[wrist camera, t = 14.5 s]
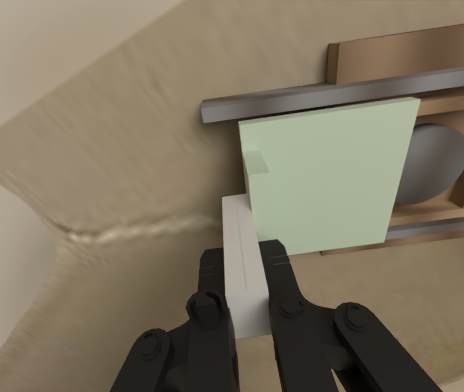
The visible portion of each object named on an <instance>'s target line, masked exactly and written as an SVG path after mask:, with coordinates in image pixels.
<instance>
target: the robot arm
mask: <svg viewBox="0 0 464 392" xmlns="http://www.w3.org/2000/svg"><path fill="white" fill-rule="evenodd" d="M222 212H223V241H224V247H222V248H214V249H207V250H205V251H204V253H203V254H202V256H201V258H200V269H199V282H198V292H196V293H195V294H193V295H192V296H191V298H190V299H189V300H188V302H187V305H186V310H187V312H188V315H189V317H190V319H189V320H188V321H187V322H186V323H185V324H183V325H181V326H179V327H177V328H175V329H173V330H171V331H169V332H167V333H166V331H165V330H162V329H159V328H158V329H151V330H149V331H147V332H144V333H143V334H142V335H141V336H140V337H139V338H138V339H137V340H136V342H135V343H134V345H133V346H132V348H131V350H130V352H129V354H128V356H127V358H126V360H125V362H124V364H123V366H122V368H121V370H120V372H119V374H118V376H117V378H116V380H115V382H114V384H113V386H112V388H111V390H110V392H240V386H239V371H238V357H237V351H236V345H235V339H239V338H247V337H255V336H263V335H270V334H272V336H273V341H274V350H275V360H276V361H277V366H278V372H279V377H280V382H281V387H282V392H339V391H338V388H337V385H336V383H335V380H334V377H333V374H332V371H331V369H333V370H334V372H335V374H336V375H337V377H338V379H339V380H340V382H341V384H342V385H343V387H344V389H345V390H346V392H443V391H442V390H441V389H440V388H439V387H438V386H437V385H436V384H435V382H434V381H433V380H432V379H431V378H430V377H429V376H428V374H427V373H426V372H425V371H424V370H423V369H422V368H421V367H420V365H419V364H418V363H417V362H416V361H415V360H414V359H413V358H412V356H411V355H410V354H409V353H408V352H407V351H406V350H405V348H404V347H403V346H402V345H401V344H400V343H399V342H398V341H397V339H396V338H395V337H394V336H393V335H392V334H391V333H390V332H389V330H388V329H387V328H386V327H385V326H384V325H383V324H382V322H381V321H380V320H379V319H378V318H377V317H376V316H375V315H374V313H372V312H371V311H370V310H369V309H368V308H367V307H365V306H363V305H360V304H358V303H352V302H347V303H342V304H341V305H339V306H338V307H337V308H336V309H332V308H326V307H321V306H317V305H314V304H312V303H310V302H309V301H308V300H306V299H305V298H304V297H303V295H302V294H301V292H300V290H299V287H298V284H297V281H296V278H295V275H294V272H293V270H292V267H291V264H290V261H289V258H288V256H287V252H286V249H285V246H284V245H283V244H282V243H281V242H280V241H279V240H278V239H274V240H267V241H260V242H258V240H257V235H256V230H255V225H254V221H253V216H252V211H251V207H250V202H249V197H248V193H247V194H240V195H233V196H226V197H222Z"/></svg>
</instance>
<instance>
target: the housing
mask: <svg viewBox="0 0 464 392" xmlns="http://www.w3.org/2000/svg"><path fill="white" fill-rule="evenodd" d="M405 97H414V98H418V99H421V101H420V105H419V108H418V112H417V116H416V120H415V124H414V128H413V132H412V136H411V140H410V144H409V147H408V151H407V155H406V159H405V163H404V167H403V171H402V175H401V179H400V182H399V186H398V190H397V194H396V198H395V202H394V206H393V210H392V214H391V217H390V221H389V225H388V229H387V233H386V237H385V241H384V243H376V244H368V245H361V246H353V247H346V248H338V249H331V250H323V251H320V253H321V255H322V256H323V255H331V254H338V253H346V252H354V251H361V250H369V249H376V248H384V247H392V246H399V245H407V244H414V243H422V242H429V241H437V240H445V239H452V238H460V237H464V24H459V25H452V26H446V27H439V28H432V29H426V30H419V31H412V32H405V33H399V34H392V35H385V36H379V37H372V38H365V39H358V40H352V41H345V42H338V43H332V44H329V50H328V65H327V80H326V82H324V83H317V84H310V85H303V86H297V87H290V88H283V89H276V90H269V91H262V92H255V93H249V94H242V95H235V96H228V97H221V98H214V99H207V100H203V102H202V106H201V113H202V119H203V123H209V122H216V121H223V120H230V119H237V118H244V117H251V116H258V115H265V114H272V113H279V112H286V111H292V110H299V109H306V108H313V107H320V106H325V109H329V108H336V107H343V106H350V105H357V104H364V103H370V102H377V101H384V100H391V99H398V98H405Z"/></svg>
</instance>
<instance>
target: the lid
mask: <svg viewBox="0 0 464 392" xmlns="http://www.w3.org/2000/svg"><path fill="white" fill-rule="evenodd" d="M420 101H421V99H418V98H414V97H405V98H398V99H391V100H384V101H377V102H370V103H364V104H357V105H350V106H343V107H336V108H329V109H322V110H315V111H308V112H301V113H294V114H287V115H280V116H273V117H266V118H259V119H252V120H245V121H238V125H239V133H240V142H241V151H242V160H243V169H244V177H245V186H246V194H247V193H248V197H249V202H250V207H251V211H252V216H253V221H254V225H255V230H256V235H257V240H258V242H260V241H267V240H274V239H278V240H279V241H280V242H281V243H282V244H283V245H284V246H285V249H286V252H287V255H293V254H300V253H308V252H315V251H323V250H331V249H338V248H346V247H353V246H361V245H368V244H376V243H384V241H385V237H386V233H387V229H388V225H389V221H390V217H391V214H392V210H393V206H394V202H395V198H396V194H397V190H398V186H399V182H400V179H401V175H402V171H403V167H404V163H405V159H406V155H407V151H408V147H409V144H410V140H411V136H412V132H413V128H414V124H415V120H416V116H417V112H418V108H419V105H420Z"/></svg>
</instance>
